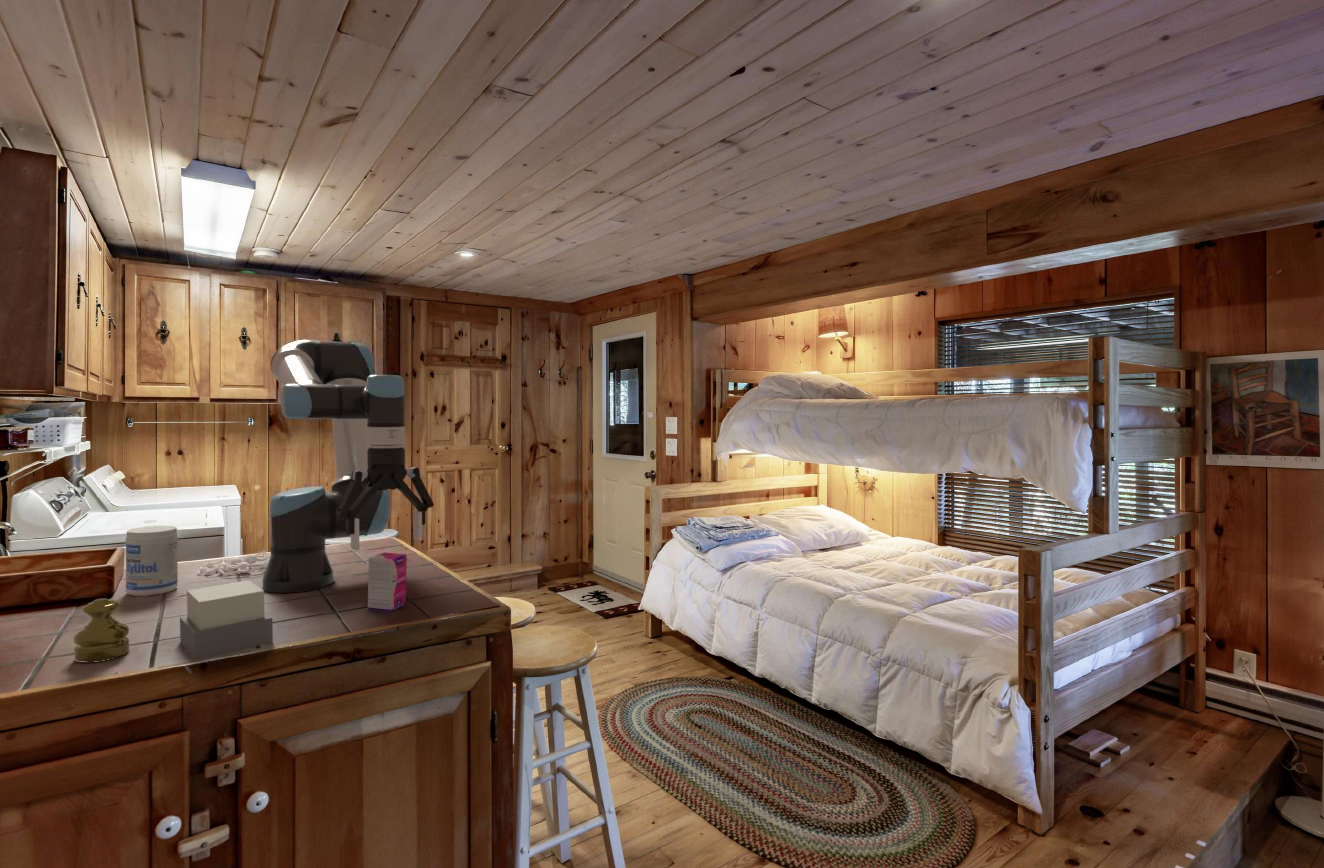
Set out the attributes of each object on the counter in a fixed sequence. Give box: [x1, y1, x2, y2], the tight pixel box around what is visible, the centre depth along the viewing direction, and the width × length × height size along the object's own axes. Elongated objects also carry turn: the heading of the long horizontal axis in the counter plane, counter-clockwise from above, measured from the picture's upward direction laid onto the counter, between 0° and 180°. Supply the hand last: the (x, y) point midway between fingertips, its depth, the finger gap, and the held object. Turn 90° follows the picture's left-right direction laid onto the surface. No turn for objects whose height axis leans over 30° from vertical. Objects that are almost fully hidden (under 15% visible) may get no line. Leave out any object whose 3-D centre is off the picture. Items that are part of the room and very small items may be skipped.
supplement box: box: [367, 551, 408, 613], centre depth 144 cm, size 6×6×12 cm
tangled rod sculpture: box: [197, 550, 271, 576], centre depth 173 cm, size 19×14×4 cm
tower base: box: [179, 611, 274, 661], centre depth 122 cm, size 12×12×5 cm
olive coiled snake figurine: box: [72, 597, 130, 662], centre depth 115 cm, size 7×8×10 cm
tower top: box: [186, 579, 266, 630], centre depth 122 cm, size 10×10×5 cm
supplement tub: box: [125, 525, 179, 597], centre depth 153 cm, size 10×10×15 cm
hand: (387, 544), depth 143 cm, fingers open, 13 cm apart
